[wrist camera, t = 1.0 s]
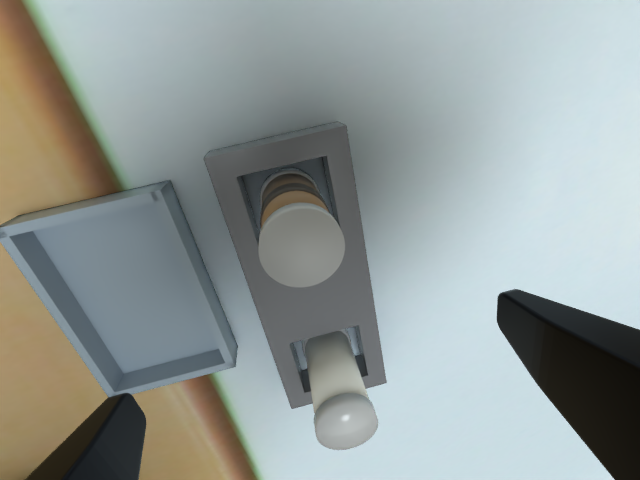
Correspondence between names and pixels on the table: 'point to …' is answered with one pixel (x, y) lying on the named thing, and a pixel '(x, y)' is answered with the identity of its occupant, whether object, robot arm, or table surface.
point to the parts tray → (125, 287)
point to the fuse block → (314, 301)
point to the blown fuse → (297, 231)
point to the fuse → (338, 392)
